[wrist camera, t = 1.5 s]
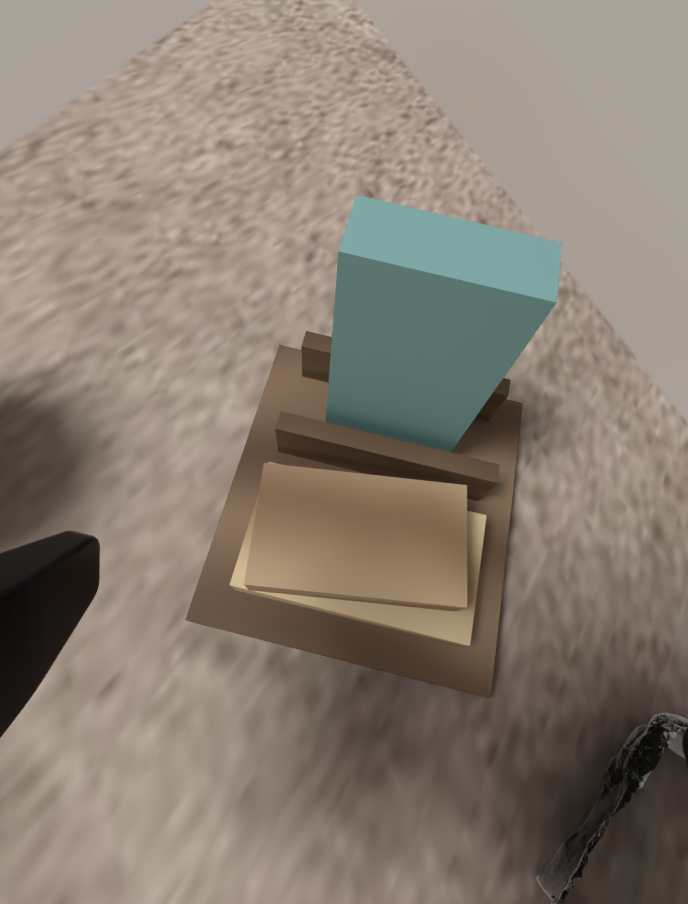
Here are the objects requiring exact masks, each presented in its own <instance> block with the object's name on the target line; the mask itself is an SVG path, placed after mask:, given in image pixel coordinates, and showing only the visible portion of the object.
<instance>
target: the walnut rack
mask: <svg viewBox="0 0 688 904" xmlns="http://www.w3.org/2000/svg"><path fill="white" fill-rule="evenodd" d="M331 344H332V337H329V336H325V335H321V334H316V333H312V332H308V331H306V334H305V337H304V340H303V343H302V346H301V347H302V350H298V349H294V348H290V347H286V346H282V345H279V348H278V351H277V354H276V357H275V360H274V363H273V366H272V369H271V372H270V375H269V377H268V380H267V383H266V386H265V389H264V392H263V395H262V398H261V401H260V404H259V407H258V410H257V412H256V415H255V418H254V421H253V424H252V427H251V430H250V433H249V436H248V439H247V442H246V445H245V447H244V450H243V453H242V456H241V459H240V462H239V465H238V468H237V471H236V474H235V477H234V480H233V482H232V485H231V488H230V491H229V494H228V497H227V500H226V503H225V506H224V509H223V512H222V515H221V517H220V520H219V523H218V526H217V529H216V532H215V535H214V538H213V541H212V544H211V547H210V550H209V553H208V555H207V558H206V561H205V564H204V567H203V570H202V573H201V576H200V579H199V582H198V585H197V588H196V590H195V593H194V596H193V599H192V602H191V605H190V608H189V611H188V614H187V617H186V620H187V621H191V622H194V623H198V624H202V625H206V626H210V627H214V628H218V629H222V630H226V631H230V632H234V633H237V634H241V635H245V636H249V637H253V638H257V639H261V640H265V641H269V642H273V643H277V644H280V645H284V646H288V647H292V648H296V649H300V650H304V651H308V652H312V653H316V654H319V655H323V656H327V657H331V658H335V659H339V660H343V661H347V662H351V663H355V664H359V665H362V666H366V667H370V668H374V669H378V670H382V671H386V672H390V673H394V674H398V675H402V676H405V677H409V678H413V679H417V680H421V681H425V682H429V683H433V684H437V685H441V686H445V687H448V688H452V689H456V690H460V691H464V692H468V693H472V694H476V695H480V696H484V697H488V698H491V691H492V682H493V673H494V663H495V654H496V645H497V636H498V626H499V617H500V608H501V598H502V589H503V580H504V571H505V561H506V552H507V543H508V533H509V524H510V515H511V506H512V496H513V487H514V478H515V468H516V459H517V450H518V441H519V431H520V422H521V413H522V403H519V402H515V401H511V400H507V399H506V398H507V397H508V394H509V385H510V380H509V379H505V378H503V379H502V381H501V382H500V383H499V385H498V386H497V388H496V389H495V390H494V392H493V393H492V395H491V396H490V398H489V399H488V400H487V402H486V403H485V405H484V406H483V407H482V409H481V410H480V412H479V413H478V414H477V416H476V417H475V419H474V420H473V422H472V423H471V424H470V426H469V427H468V429H467V430H466V431H465V433H464V434H463V436H462V437H461V438H460V440H459V441H458V443H457V444H456V446H455V447H454V448H453V450H452V451H451V452H447V451H443V450H439V449H435V448H430V447H426V446H422V445H418V444H414V443H410V442H406V441H402V440H398V439H394V438H389V437H385V436H381V435H377V434H373V433H369V432H365V431H361V430H357V429H352V428H348V427H344V426H340V425H336V424H332V423H328V422H325V421H326V409H327V396H328V383H329V370H330V357H331ZM268 462H272V463H276V464H280V465H288V466H297V467H306V468H315V469H324V470H334V471H343V472H352V473H361V474H370V475H379V476H388V477H397V478H406V479H415V480H424V481H433V482H442V483H451V484H460V485H467V511H471V512H475V513H479V514H483V515H487V516H486V524H485V532H484V540H483V548H482V556H481V564H480V571H479V579H478V587H477V595H476V603H475V611H474V619H473V626H472V634H471V642H470V646H462V647H457V646H453V645H449V644H445V643H441V642H437V641H433V640H429V639H425V638H421V637H417V636H413V635H409V634H405V633H402V632H398V631H394V630H390V629H386V628H382V627H378V626H374V625H370V624H366V623H362V622H358V621H354V620H350V619H346V618H342V617H338V616H335V615H331V614H327V613H323V612H319V611H315V610H311V609H307V608H303V607H299V606H295V605H291V604H287V603H283V602H279V601H275V600H271V599H267V598H264V597H260V596H256V595H252V594H248V593H244V592H240V591H236V590H234V589H233V588H232V587H231V586H230V582H231V578H232V575H233V572H234V569H235V566H236V563H237V560H238V556H239V553H240V550H241V547H242V544H243V541H244V538H245V534H246V531H247V528H248V525H249V522H250V519H251V516H252V512H253V509H254V506H255V503H256V500H257V497H258V494H259V490H260V484H261V477H262V471H263V465H264V463H268Z"/></svg>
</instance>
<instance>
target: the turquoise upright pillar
mask: <svg viewBox="0 0 688 904" xmlns="http://www.w3.org/2000/svg"><path fill="white" fill-rule="evenodd" d="M561 246H562V242H557V241H553V240H549V239H544V238H540V237H536V236H531V235H527V234H523V233H518V232H514V231H510V230H505V229H501V228H497V227H492V226H488V225H484V224H479V223H475V222H471V221H466V220H462V219H458V218H453V217H449V216H445V215H441V214H436V213H432V212H428V211H423V210H419V209H415V208H410V207H406V206H402V205H397V204H393V203H389V202H384V201H380V200H376V199H371V198H367V197H363V196H358V195H356V198H355V201H354V205H353V208H352V211H351V214H350V217H349V220H348V224H347V227H346V230H345V233H344V236H343V239H342V243H341V246H340V249H339V254H338V267H337V280H336V293H335V306H334V319H333V332H332V344H331V357H330V370H329V383H328V396H327V409H326V421H325V422H328V423H332V424H336V425H340V426H344V427H348V428H352V429H357V430H361V431H365V432H369V433H373V434H377V435H381V436H385V437H389V438H394V439H398V440H402V441H406V442H410V443H414V444H418V445H422V446H426V447H430V448H435V449H439V450H443V451H447V452H451V451H452V450H453V448H454V447H455V446H456V444H457V443H458V441H459V440H460V438H461V437H462V436H463V434H464V433H465V431H466V430H467V429H468V427H469V426H470V424H471V423H472V422H473V420H474V419H475V417H476V416H477V414H478V413H479V412H480V410H481V409H482V407H483V406H484V405H485V403H486V402H487V400H488V399H489V398H490V396H491V395H492V393H493V392H494V390H495V389H496V388H497V386H498V385H499V383H500V382H501V381H502V379H503V378H504V376H505V375H506V373H507V372H508V371H509V369H510V368H511V366H512V365H513V364H514V362H515V361H516V359H517V358H518V357H519V355H520V354H521V352H522V351H523V349H524V348H525V347H526V345H527V344H528V342H529V341H530V340H531V338H532V337H533V335H534V334H535V332H536V331H537V330H538V328H539V327H540V325H541V324H542V323H543V321H544V320H545V318H546V317H547V316H548V314H549V313H550V311H551V310H552V308H553V307H554V306H555V304H556V303H557V293H558V281H559V269H560V258H561Z"/></svg>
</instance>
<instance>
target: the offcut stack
mask: <svg viewBox="0 0 688 904" xmlns="http://www.w3.org/2000/svg"><path fill="white" fill-rule="evenodd" d="M486 516H487V515H483V514H479V513H475V512H471V511H467V485H460V484H451V483H442V482H433V481H424V480H415V479H406V478H397V477H388V476H379V475H370V474H361V473H352V472H343V471H334V470H324V469H315V468H306V467H297V466H288V465H280V464H276V463H272V462H268V463H264V465H263V471H262V477H261V484H260V490H259V494H258V497H257V500H256V503H255V506H254V509H253V512H252V516H251V519H250V522H249V525H248V528H247V531H246V534H245V538H244V541H243V544H242V547H241V550H240V553H239V556H238V560H237V563H236V566H235V569H234V572H233V575H232V578H231V582H230V586H231V587H232V588H233V589H234V590H236V591H240V592H244V593H248V594H252V595H256V596H260V597H264V598H267V599H271V600H275V601H279V602H283V603H287V604H291V605H295V606H299V607H303V608H307V609H311V610H315V611H319V612H323V613H327V614H331V615H335V616H338V617H342V618H346V619H350V620H354V621H358V622H362V623H366V624H370V625H374V626H378V627H382V628H386V629H390V630H394V631H398V632H402V633H405V634H409V635H413V636H417V637H421V638H425V639H429V640H433V641H437V642H441V643H445V644H449V645H453V646H457V647H462V646H470V642H471V634H472V626H473V619H474V611H475V603H476V595H477V587H478V579H479V571H480V564H481V556H482V548H483V540H484V532H485V524H486Z"/></svg>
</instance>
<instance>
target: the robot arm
mask: <svg viewBox="0 0 688 904" xmlns="http://www.w3.org/2000/svg"><path fill="white" fill-rule="evenodd" d="M99 570H100V545H99V541H98V539H97V538H96V537H94V536H91V535H88V534H84V533H80V532H76V531H66V532H62V533H59V534H56V535H53V536H50V537H47V538H44V539H41V540H38V541H35V542H32V543H29V544H26V545H23V546H21V547H18V548H15V549H12V550H9V551H6V552H3V553H0V738H1V737H2V735H3V734H4V733H5V731H6V730H7V729H8V727H9V726H10V725H11V723H12V722H13V721H14V720H15V718H16V717H17V716H18V714H19V713H20V712H21V710H22V709H23V708H24V706H25V705H26V704H27V702H28V701H29V700H30V698H31V697H32V695H33V694H34V693H35V691H36V690H37V688H38V687H39V685H40V683H41V682H42V680H43V679H44V677H45V676H46V674H47V673H48V671H49V669H50V668H51V666H52V665H53V663H54V661H55V660H56V658H57V657H58V655H59V653H60V652H61V650H62V648H63V647H64V645H65V644H66V642H67V640H68V639H69V637H70V636H71V634H72V632H73V631H74V629H75V628H76V626H77V624H78V623H79V621H80V620H81V618H82V616H83V615H84V613H85V611H86V610H87V608H88V607H89V605H90V603H91V602H92V600H93V598H94V597H95V595H96V592H97V589H98V586H99ZM682 748H683V753H684V756H685V760H686V763H687V767H688V727H687V728H686V730H685V731H684V734H683V739H682Z"/></svg>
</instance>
